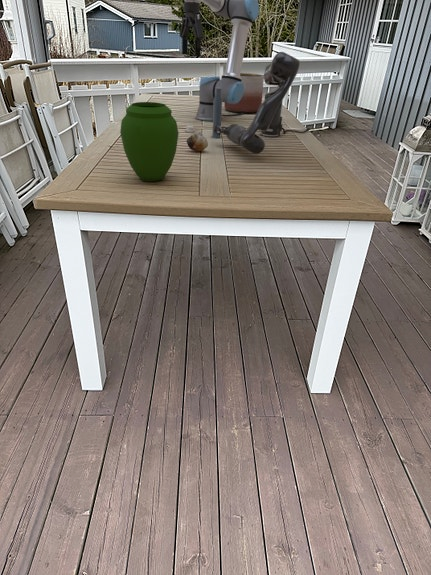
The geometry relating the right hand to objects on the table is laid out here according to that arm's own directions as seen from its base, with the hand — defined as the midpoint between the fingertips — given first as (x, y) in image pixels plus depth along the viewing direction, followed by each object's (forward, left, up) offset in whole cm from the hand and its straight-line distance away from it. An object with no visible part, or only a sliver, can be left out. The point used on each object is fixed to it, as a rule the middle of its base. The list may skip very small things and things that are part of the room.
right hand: (224, 127), depth 196 cm
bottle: (0, -11, -7) cm, 13 cm away
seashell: (+19, +15, -7) cm, 25 cm away
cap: (+9, -26, -5) cm, 28 cm away
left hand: (+9, -26, +29) cm, 39 cm away
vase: (+47, +49, -7) cm, 68 cm away
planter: (-47, -85, -7) cm, 97 cm away
